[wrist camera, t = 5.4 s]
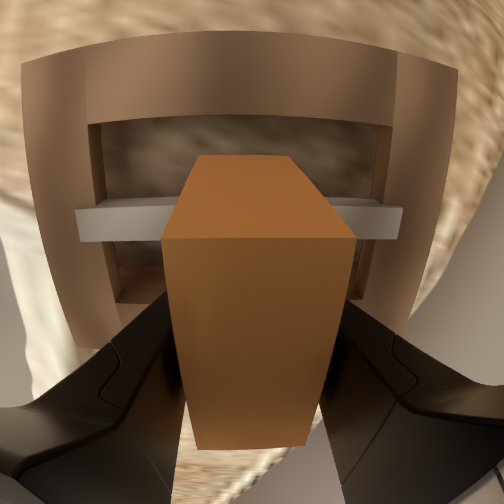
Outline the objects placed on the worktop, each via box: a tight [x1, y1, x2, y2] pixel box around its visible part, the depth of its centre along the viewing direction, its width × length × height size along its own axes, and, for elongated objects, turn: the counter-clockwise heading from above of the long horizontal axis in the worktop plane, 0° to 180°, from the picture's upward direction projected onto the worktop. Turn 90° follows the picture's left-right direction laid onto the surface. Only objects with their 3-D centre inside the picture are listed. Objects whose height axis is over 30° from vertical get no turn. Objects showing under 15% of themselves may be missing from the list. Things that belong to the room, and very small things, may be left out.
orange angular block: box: [161, 155, 357, 450], centre depth 9 cm, size 3×6×6 cm, turn 179°
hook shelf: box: [21, 31, 458, 349], centre depth 17 cm, size 20×16×7 cm
